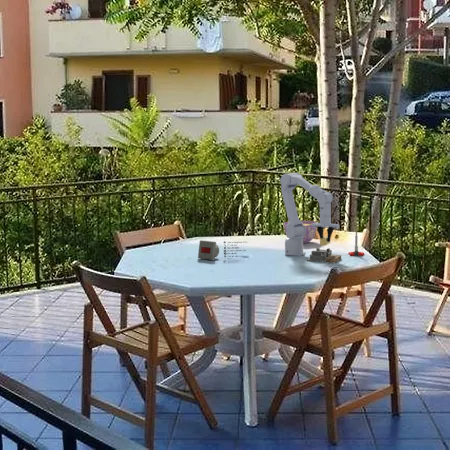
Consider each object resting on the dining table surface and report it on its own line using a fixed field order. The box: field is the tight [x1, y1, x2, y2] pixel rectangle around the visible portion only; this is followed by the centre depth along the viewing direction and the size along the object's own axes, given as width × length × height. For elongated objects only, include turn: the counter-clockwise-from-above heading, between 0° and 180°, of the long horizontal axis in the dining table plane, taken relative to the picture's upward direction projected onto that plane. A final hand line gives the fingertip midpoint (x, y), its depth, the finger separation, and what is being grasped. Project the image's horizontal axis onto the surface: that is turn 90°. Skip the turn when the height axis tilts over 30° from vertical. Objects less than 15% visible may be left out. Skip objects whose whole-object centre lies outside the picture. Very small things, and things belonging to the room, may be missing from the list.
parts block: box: [325, 254, 342, 264], centre depth 411 cm, size 5×11×2 cm, turn 157°
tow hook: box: [347, 231, 365, 257], centre depth 426 cm, size 8×13×9 cm
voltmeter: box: [197, 239, 248, 261], centre depth 424 cm, size 27×11×10 cm, turn 89°
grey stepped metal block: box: [306, 247, 334, 263], centre depth 417 cm, size 10×17×5 cm, turn 157°
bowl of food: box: [283, 220, 318, 245], centre depth 467 cm, size 20×20×12 cm
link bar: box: [319, 235, 332, 246], centre depth 415 cm, size 3×9×4 cm, turn 157°
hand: (325, 241), depth 415 cm, fingers closed on link bar, 3 cm apart
